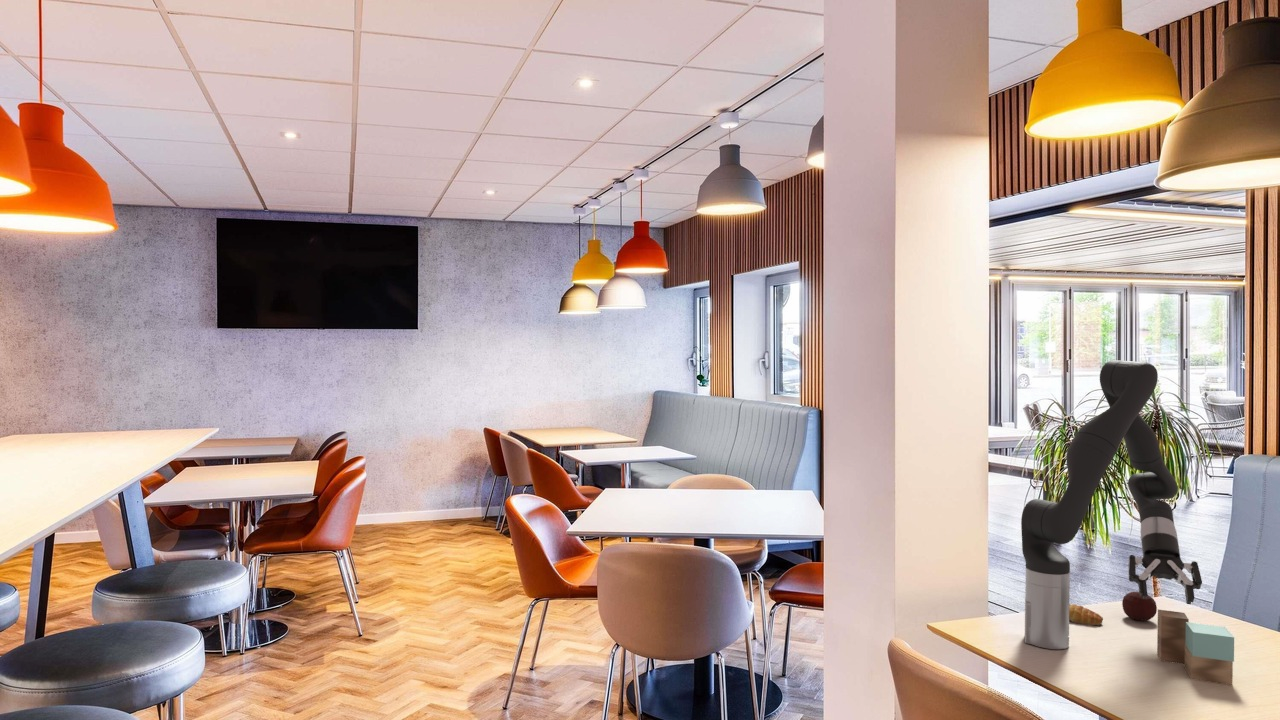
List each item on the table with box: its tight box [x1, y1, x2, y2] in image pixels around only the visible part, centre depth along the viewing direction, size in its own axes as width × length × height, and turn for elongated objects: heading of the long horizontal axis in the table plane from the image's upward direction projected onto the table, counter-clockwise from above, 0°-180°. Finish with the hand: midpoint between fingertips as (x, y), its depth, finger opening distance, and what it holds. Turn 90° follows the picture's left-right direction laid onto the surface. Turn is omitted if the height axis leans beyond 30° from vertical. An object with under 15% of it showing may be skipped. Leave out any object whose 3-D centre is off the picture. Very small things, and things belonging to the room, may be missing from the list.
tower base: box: [1183, 645, 1234, 686], centre depth 165 cm, size 7×7×5 cm
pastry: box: [1069, 603, 1104, 626], centre depth 200 cm, size 9×7×4 cm
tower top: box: [1185, 621, 1235, 663], centre depth 165 cm, size 7×7×5 cm
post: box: [1156, 608, 1190, 665], centre depth 174 cm, size 5×5×10 cm
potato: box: [1121, 591, 1158, 622], centre depth 201 cm, size 7×8×7 cm
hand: (1167, 599), depth 181 cm, fingers open, 8 cm apart
